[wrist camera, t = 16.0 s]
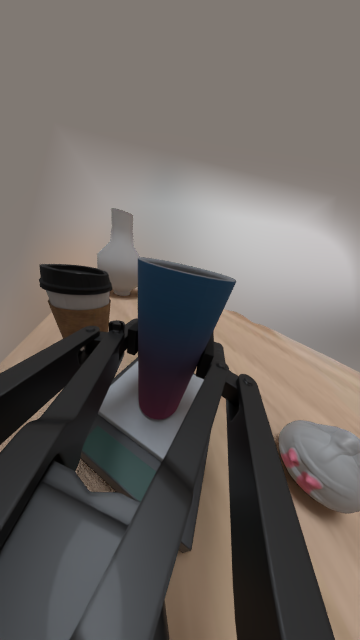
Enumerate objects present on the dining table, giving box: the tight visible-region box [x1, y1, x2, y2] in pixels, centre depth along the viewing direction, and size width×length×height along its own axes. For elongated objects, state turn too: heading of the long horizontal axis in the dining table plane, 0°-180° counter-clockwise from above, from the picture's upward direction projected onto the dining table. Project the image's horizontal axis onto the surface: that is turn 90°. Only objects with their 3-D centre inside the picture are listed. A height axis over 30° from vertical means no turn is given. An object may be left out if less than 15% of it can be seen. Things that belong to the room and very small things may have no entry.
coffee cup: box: [39, 264, 112, 351], centre depth 21 cm, size 8×8×15 cm
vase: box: [97, 208, 140, 296], centre depth 49 cm, size 17×16×28 cm
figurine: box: [279, 420, 360, 513], centre depth 13 cm, size 6×7×8 cm
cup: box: [138, 257, 236, 420], centre depth 12 cm, size 7×7×15 cm
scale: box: [80, 357, 211, 553], centre depth 17 cm, size 14×14×3 cm
